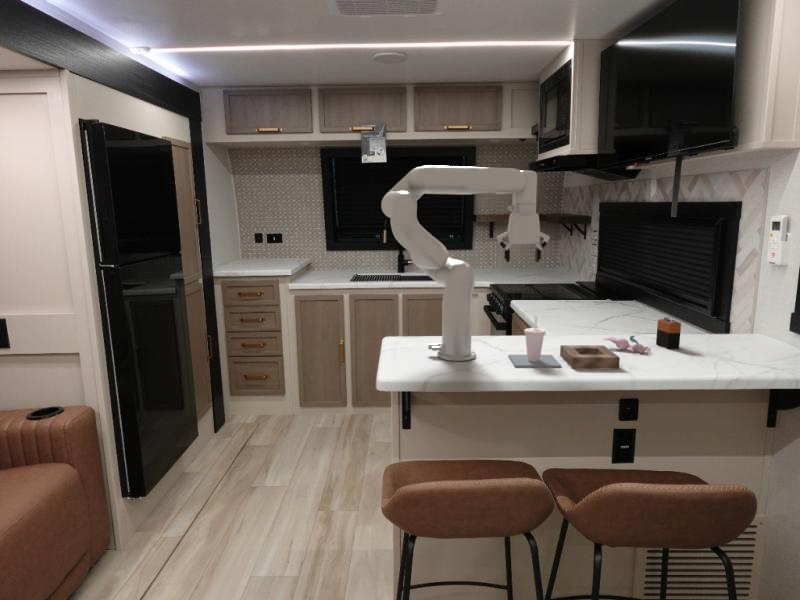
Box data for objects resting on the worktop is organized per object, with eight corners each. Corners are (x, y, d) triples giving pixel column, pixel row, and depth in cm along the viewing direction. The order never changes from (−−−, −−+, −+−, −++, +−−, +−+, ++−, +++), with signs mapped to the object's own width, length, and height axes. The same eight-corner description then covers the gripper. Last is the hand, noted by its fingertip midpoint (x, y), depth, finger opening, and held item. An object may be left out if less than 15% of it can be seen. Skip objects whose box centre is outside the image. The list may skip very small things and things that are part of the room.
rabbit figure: (650, 355, 178) (605, 342, 187) (654, 339, 177) (609, 326, 185) (645, 359, 173) (599, 345, 182) (649, 342, 172) (603, 329, 180)
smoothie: (547, 359, 167) (549, 316, 165) (538, 364, 163) (539, 319, 160) (529, 355, 172) (530, 313, 169) (519, 360, 167) (520, 316, 164)
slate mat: (514, 367, 162) (515, 365, 162) (508, 356, 173) (508, 354, 173) (561, 367, 161) (561, 365, 161) (551, 356, 173) (551, 354, 173)
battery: (665, 343, 188) (668, 316, 186) (679, 348, 181) (682, 320, 179) (655, 344, 187) (657, 316, 185) (668, 349, 180) (671, 320, 179)
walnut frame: (572, 368, 160) (572, 357, 159) (560, 355, 174) (560, 345, 173) (619, 368, 159) (619, 357, 159) (603, 355, 173) (603, 345, 173)
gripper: (499, 209, 170) (497, 263, 172) (553, 209, 169) (551, 262, 172) (495, 209, 177) (494, 260, 180) (548, 209, 176) (545, 260, 179)
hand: (522, 261), depth 176 cm, fingers open, 9 cm apart
